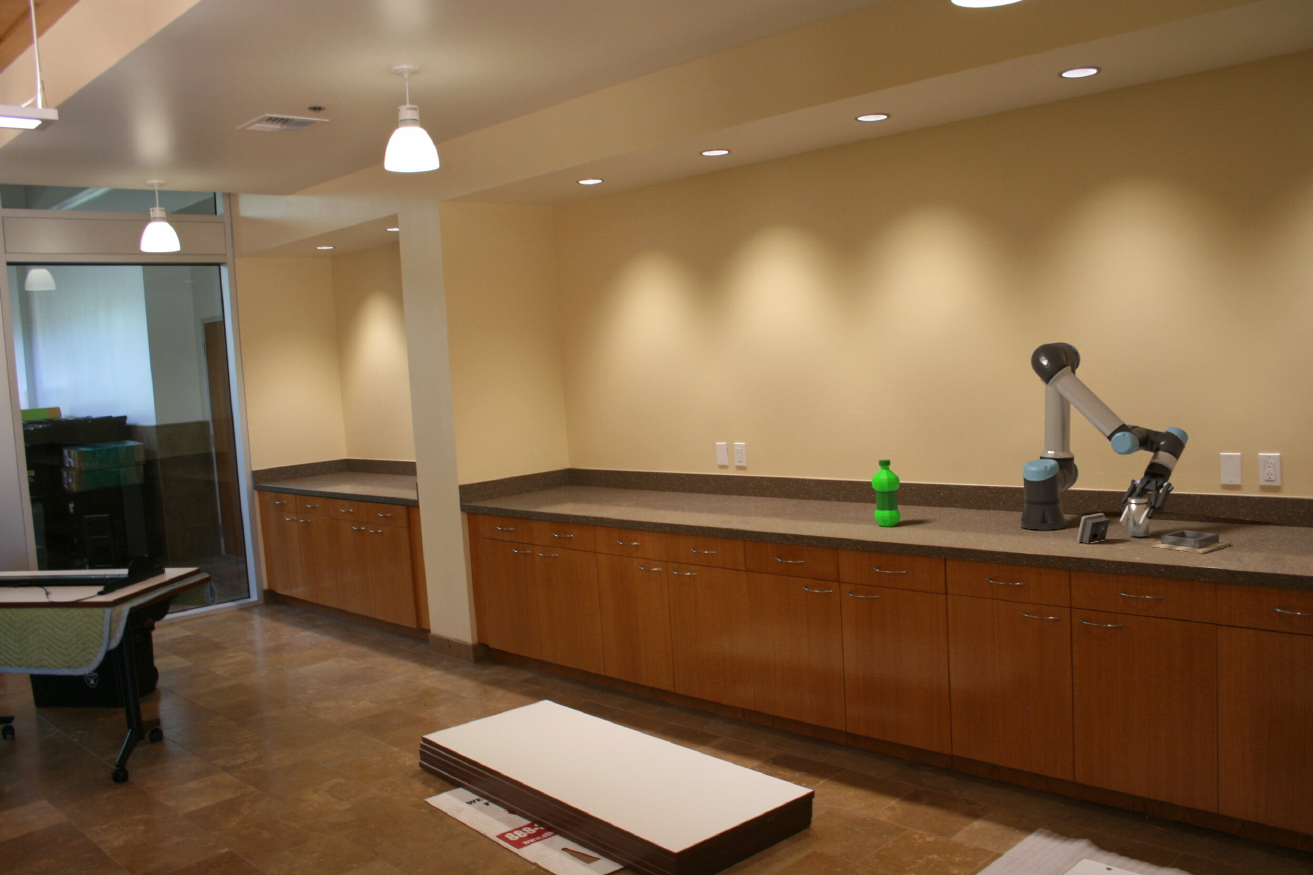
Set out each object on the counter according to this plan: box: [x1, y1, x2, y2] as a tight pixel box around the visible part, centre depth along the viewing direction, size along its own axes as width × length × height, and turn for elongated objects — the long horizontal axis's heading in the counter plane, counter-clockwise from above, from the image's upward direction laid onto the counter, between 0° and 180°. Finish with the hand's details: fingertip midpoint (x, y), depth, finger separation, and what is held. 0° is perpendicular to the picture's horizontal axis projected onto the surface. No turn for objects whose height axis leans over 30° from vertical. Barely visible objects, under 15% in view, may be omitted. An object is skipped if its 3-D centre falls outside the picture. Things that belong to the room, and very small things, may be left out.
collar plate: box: [1149, 529, 1232, 552], centre depth 294 cm, size 16×16×4 cm
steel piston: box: [1127, 496, 1150, 537], centre depth 312 cm, size 6×6×12 cm
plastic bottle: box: [871, 459, 902, 528], centre depth 363 cm, size 10×10×25 cm
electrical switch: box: [1076, 512, 1110, 545], centre depth 309 cm, size 9×5×9 cm, turn 113°
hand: (1132, 524), depth 310 cm, fingers closed on steel piston, 6 cm apart
